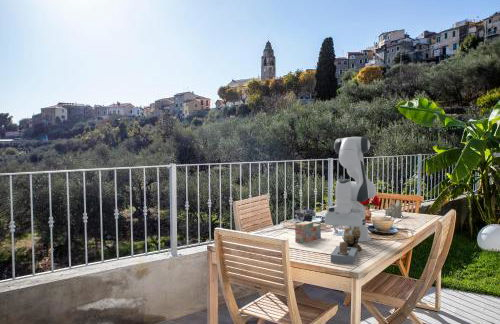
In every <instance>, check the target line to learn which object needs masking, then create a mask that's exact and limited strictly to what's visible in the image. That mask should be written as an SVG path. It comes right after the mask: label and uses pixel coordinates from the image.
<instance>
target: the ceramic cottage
mask: <svg viewBox="0 0 500 324" xmlns="http://www.w3.org/2000/svg"><path fill="white" fill-rule="evenodd" d="M384 213H385V215H384V217H385V216H391V217H401V216H403V212H402V205H401V200H398V201H396V202H395V203H393V204H391V205H390V206H389V207H388V208H386V209H385V210H384Z"/></svg>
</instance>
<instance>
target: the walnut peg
mask: <svg viewBox="0 0 500 324" xmlns="http://www.w3.org/2000/svg"><path fill="white" fill-rule="evenodd" d="M339 246H340V252H339V253H340V255H347V242H344V241H340V242H339Z"/></svg>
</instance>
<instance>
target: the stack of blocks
mask: <svg viewBox="0 0 500 324" xmlns="http://www.w3.org/2000/svg"><path fill="white" fill-rule="evenodd" d="M321 226H322V225H321V224H320V223H319V224H318V223H314V222H313V221H307V220H305V221H301V222H297V223H295V225H294V230H295V234H294V236H295V237H294V238H295V241H294V242H295V243H298V244H306V243H309V242H312V241H315V240H318V239H321V238H322V235H321V234H322V231H321V229H322V228H321Z"/></svg>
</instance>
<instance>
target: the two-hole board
mask: <svg viewBox="0 0 500 324" xmlns="http://www.w3.org/2000/svg"><path fill="white" fill-rule="evenodd" d="M339 252H340V245H336V246H335V248H334V249H333V251H332V252H331V254H330V263H337V264H345V265H354V263H355V262H356V259H357V257H358V253H359V252H358V248H354V247H347V255H340V253H339Z"/></svg>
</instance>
